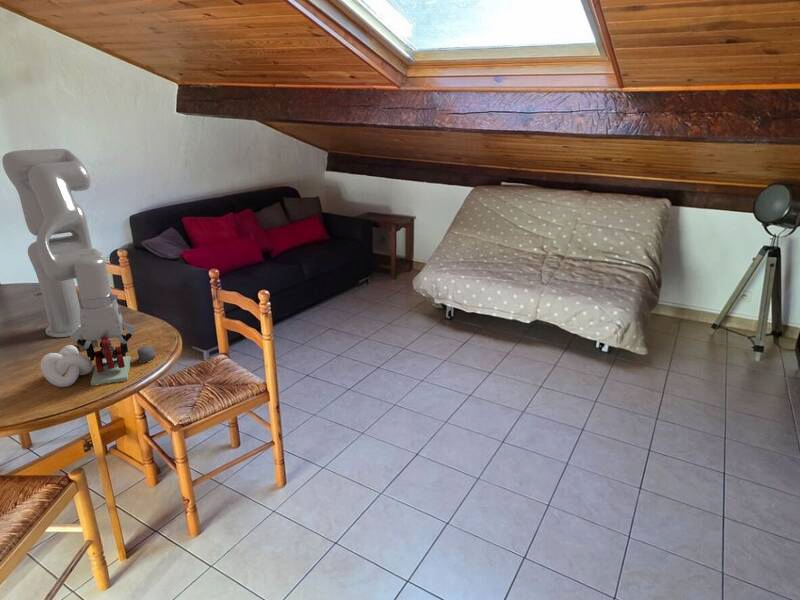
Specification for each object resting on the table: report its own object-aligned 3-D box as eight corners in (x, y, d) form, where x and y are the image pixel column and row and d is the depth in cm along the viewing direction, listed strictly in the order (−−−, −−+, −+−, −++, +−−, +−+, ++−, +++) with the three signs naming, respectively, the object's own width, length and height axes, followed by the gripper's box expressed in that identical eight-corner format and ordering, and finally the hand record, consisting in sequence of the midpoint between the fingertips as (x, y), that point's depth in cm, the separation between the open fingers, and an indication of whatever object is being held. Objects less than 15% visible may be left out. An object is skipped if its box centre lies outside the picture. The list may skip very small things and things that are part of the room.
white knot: (39, 377, 145) (31, 349, 142) (86, 364, 153) (80, 337, 150) (49, 394, 138) (41, 365, 135) (98, 379, 146) (92, 351, 142)
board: (98, 363, 153) (97, 360, 153) (131, 359, 157) (130, 355, 156) (91, 385, 142) (90, 382, 142) (127, 380, 145) (126, 377, 145)
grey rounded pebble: (140, 357, 158) (138, 347, 157) (155, 355, 159) (154, 345, 158) (138, 364, 154) (136, 353, 153) (154, 362, 156) (152, 352, 154)
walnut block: (77, 345, 164) (75, 334, 162) (95, 341, 167) (92, 330, 165) (80, 351, 160) (78, 340, 159) (98, 347, 163) (96, 336, 162)
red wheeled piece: (121, 353, 155) (115, 322, 151) (126, 371, 146) (119, 339, 142) (95, 358, 152) (88, 327, 148) (98, 377, 142) (91, 344, 138)
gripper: (133, 292, 147) (143, 346, 154) (63, 298, 141) (76, 354, 148) (131, 302, 141) (141, 358, 147) (57, 309, 135) (71, 367, 141)
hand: (108, 356), depth 148 cm, fingers closed on red wheeled piece, 7 cm apart
